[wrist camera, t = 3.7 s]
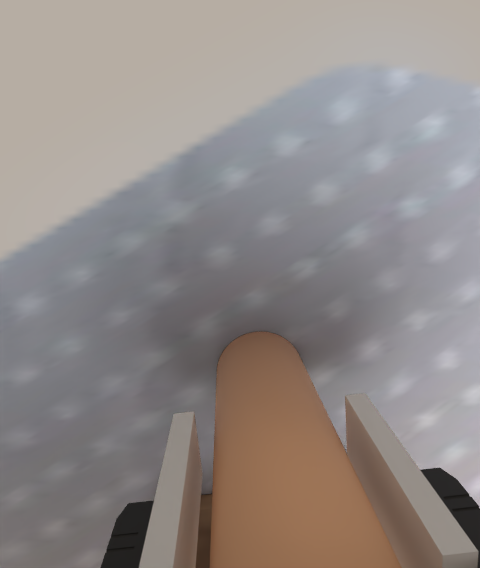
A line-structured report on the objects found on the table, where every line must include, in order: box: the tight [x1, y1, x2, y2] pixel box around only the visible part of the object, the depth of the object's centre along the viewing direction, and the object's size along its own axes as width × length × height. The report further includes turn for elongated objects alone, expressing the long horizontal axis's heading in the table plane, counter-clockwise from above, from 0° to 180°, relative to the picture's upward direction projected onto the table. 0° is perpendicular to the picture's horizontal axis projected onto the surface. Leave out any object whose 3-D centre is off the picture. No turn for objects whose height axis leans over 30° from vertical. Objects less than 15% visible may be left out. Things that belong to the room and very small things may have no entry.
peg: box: [210, 331, 402, 568], centre depth 12 cm, size 4×4×15 cm
